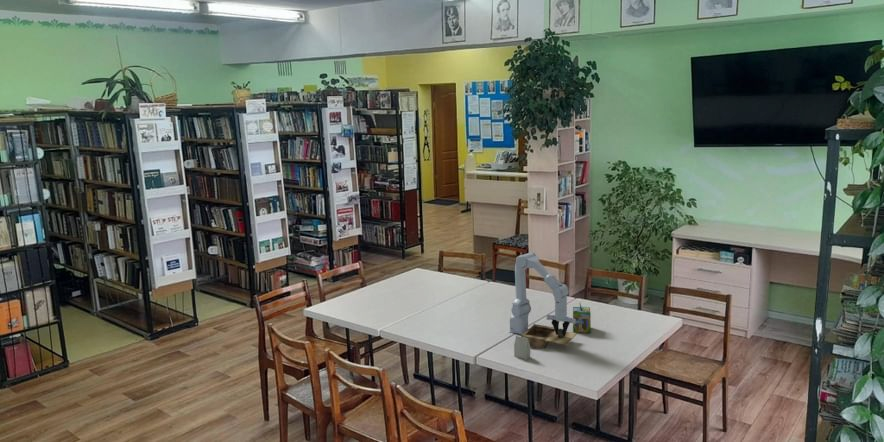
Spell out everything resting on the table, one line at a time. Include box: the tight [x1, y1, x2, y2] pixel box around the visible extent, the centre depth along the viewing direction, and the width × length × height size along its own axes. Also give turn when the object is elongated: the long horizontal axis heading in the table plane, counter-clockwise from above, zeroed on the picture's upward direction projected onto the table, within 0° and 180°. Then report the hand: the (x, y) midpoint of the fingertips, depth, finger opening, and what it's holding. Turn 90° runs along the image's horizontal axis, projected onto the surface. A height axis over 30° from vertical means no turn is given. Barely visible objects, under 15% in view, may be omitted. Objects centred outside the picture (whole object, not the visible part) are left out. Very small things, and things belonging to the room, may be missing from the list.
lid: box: [545, 328, 577, 346], centre depth 307 cm, size 11×15×4 cm
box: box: [520, 323, 555, 350], centre depth 313 cm, size 12×18×5 cm, turn 150°
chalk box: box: [572, 302, 592, 334], centre depth 325 cm, size 9×9×15 cm
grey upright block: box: [513, 335, 531, 361], centre depth 294 cm, size 4×7×10 cm, turn 50°
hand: (560, 334), depth 307 cm, fingers closed on lid, 3 cm apart
